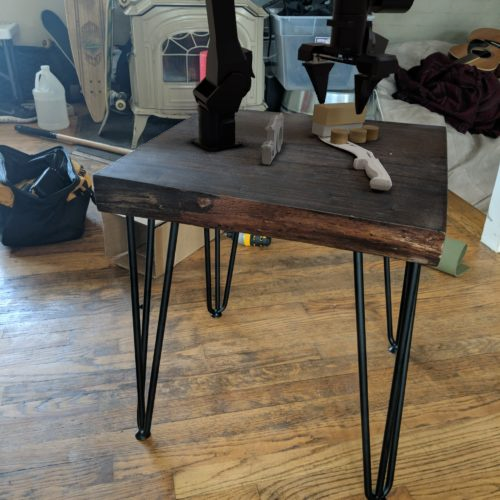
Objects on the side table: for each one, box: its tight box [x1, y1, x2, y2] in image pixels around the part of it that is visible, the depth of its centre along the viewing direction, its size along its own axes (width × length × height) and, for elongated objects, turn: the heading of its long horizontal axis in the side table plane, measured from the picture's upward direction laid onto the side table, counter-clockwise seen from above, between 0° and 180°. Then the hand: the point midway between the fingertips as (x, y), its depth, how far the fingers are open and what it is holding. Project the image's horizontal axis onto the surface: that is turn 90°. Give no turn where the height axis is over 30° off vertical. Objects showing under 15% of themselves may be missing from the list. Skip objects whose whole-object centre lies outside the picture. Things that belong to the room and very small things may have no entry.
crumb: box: [362, 124, 380, 141], centre depth 93 cm, size 3×3×2 cm
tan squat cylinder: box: [330, 128, 349, 144], centre depth 88 cm, size 3×3×2 cm
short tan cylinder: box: [348, 127, 367, 144], centre depth 91 cm, size 3×3×2 cm
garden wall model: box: [260, 112, 286, 166], centre depth 82 cm, size 12×2×6 cm, turn 167°
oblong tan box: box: [311, 101, 368, 137], centre depth 93 cm, size 4×10×5 cm, turn 127°
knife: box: [317, 135, 393, 191], centre depth 83 cm, size 30×2×8 cm
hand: (339, 108), depth 92 cm, fingers open, 9 cm apart
